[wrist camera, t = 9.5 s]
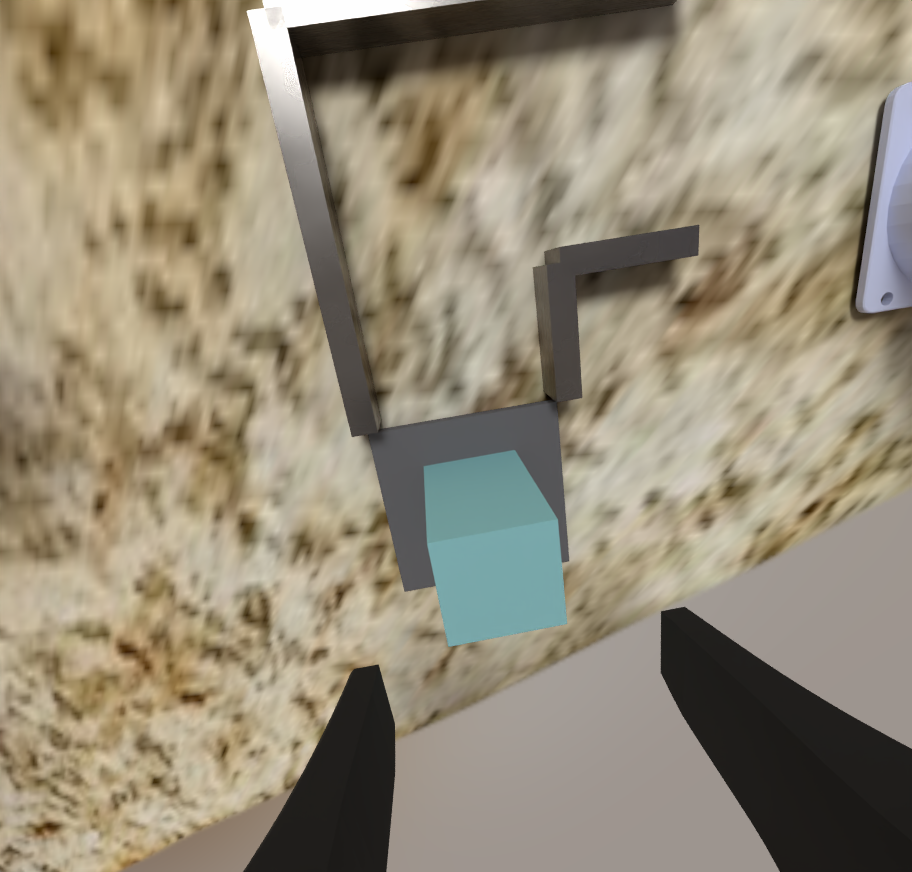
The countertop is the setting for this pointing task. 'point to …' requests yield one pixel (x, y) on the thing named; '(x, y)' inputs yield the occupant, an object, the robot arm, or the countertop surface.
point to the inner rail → (561, 301)
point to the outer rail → (280, 55)
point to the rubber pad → (456, 439)
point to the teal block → (492, 548)
